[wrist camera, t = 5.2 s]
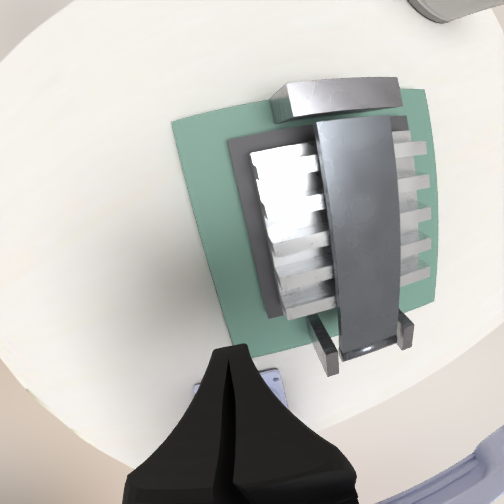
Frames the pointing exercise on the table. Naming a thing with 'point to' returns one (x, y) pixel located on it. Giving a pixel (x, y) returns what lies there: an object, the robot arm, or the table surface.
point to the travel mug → (452, 8)
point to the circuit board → (250, 218)
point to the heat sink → (314, 204)
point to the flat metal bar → (362, 229)
